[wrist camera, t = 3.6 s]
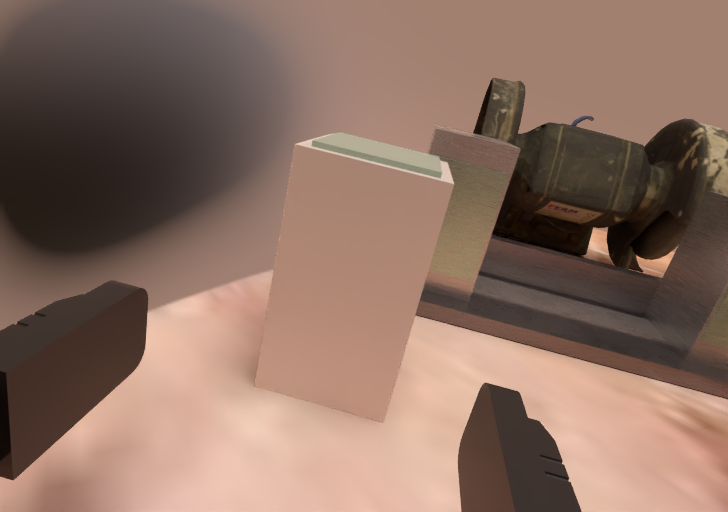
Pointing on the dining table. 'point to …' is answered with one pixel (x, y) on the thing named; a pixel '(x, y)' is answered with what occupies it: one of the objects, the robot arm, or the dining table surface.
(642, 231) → the bench grinder
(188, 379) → the dining table surface
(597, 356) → the rail
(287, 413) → the dining table surface
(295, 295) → the block
